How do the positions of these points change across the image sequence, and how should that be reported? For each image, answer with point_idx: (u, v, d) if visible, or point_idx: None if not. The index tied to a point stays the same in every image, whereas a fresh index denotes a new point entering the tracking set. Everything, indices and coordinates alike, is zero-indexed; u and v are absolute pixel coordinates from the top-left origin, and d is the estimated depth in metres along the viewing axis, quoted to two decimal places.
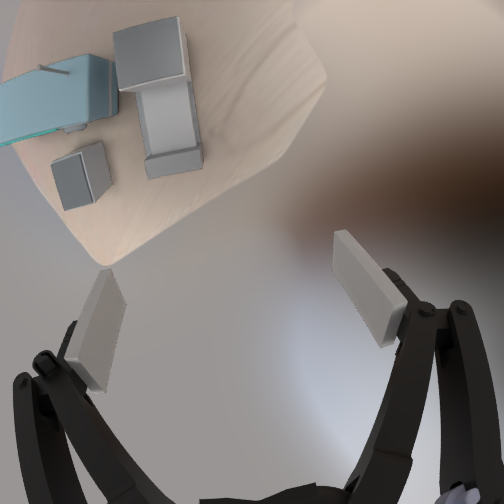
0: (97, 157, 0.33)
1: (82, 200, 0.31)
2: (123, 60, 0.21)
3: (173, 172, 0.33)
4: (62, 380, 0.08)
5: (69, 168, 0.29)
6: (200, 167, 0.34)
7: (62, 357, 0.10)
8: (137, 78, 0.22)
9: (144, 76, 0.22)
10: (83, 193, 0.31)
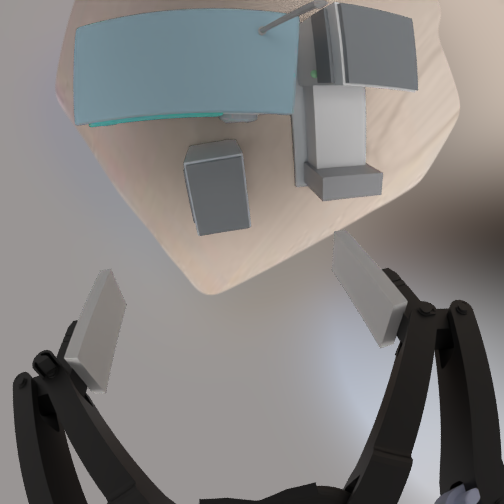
0: None
1: (234, 223, 0.26)
2: (356, 46, 0.15)
3: (352, 195, 0.28)
4: (62, 380, 0.08)
5: (221, 175, 0.23)
6: (379, 192, 0.28)
7: (62, 357, 0.10)
8: (372, 77, 0.16)
9: (380, 78, 0.16)
10: (238, 213, 0.25)
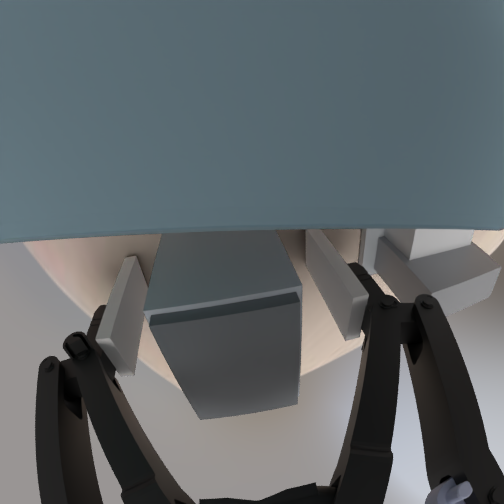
0: None
1: (269, 403, 0.11)
2: None
3: (459, 308, 0.14)
4: (92, 363, 0.09)
5: (244, 341, 0.09)
6: (489, 294, 0.14)
7: (91, 340, 0.11)
8: None
9: None
10: (278, 392, 0.11)
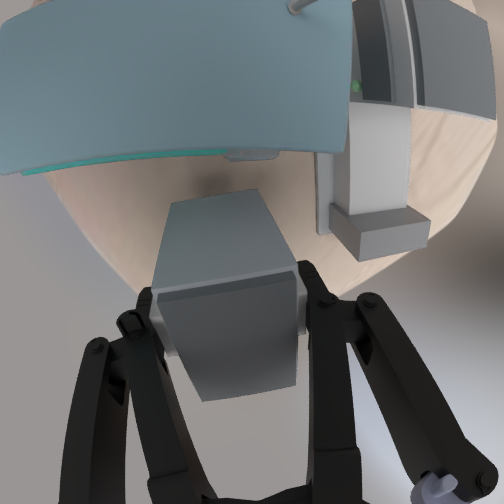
0: None
1: (268, 383, 0.12)
2: (433, 50, 0.08)
3: (394, 251, 0.21)
4: (145, 343, 0.10)
5: (245, 318, 0.10)
6: (425, 245, 0.21)
7: None
8: (452, 99, 0.10)
9: (460, 101, 0.10)
10: (277, 372, 0.12)
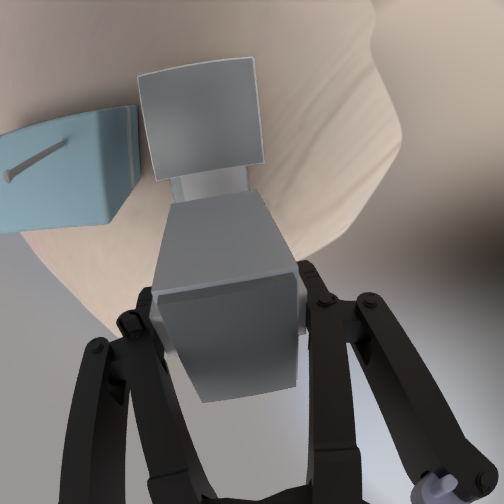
0: None
1: (269, 385, 0.12)
2: (161, 131, 0.15)
3: None
4: (145, 343, 0.10)
5: (245, 320, 0.10)
6: None
7: None
8: (187, 165, 0.16)
9: (199, 163, 0.16)
10: (278, 373, 0.12)
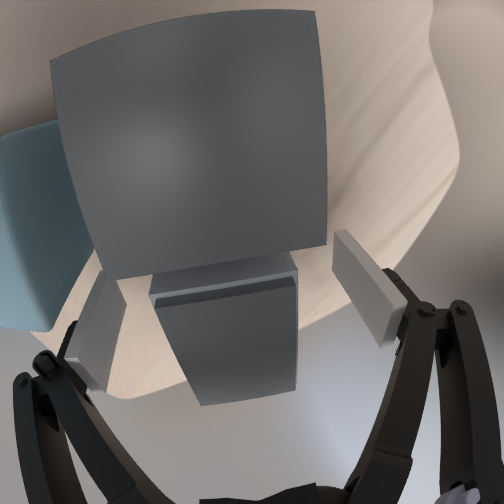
0: None
1: (268, 388, 0.12)
2: (101, 181, 0.06)
3: None
4: (62, 380, 0.08)
5: (244, 324, 0.10)
6: None
7: (62, 357, 0.10)
8: (166, 254, 0.08)
9: (191, 249, 0.08)
10: (277, 377, 0.12)
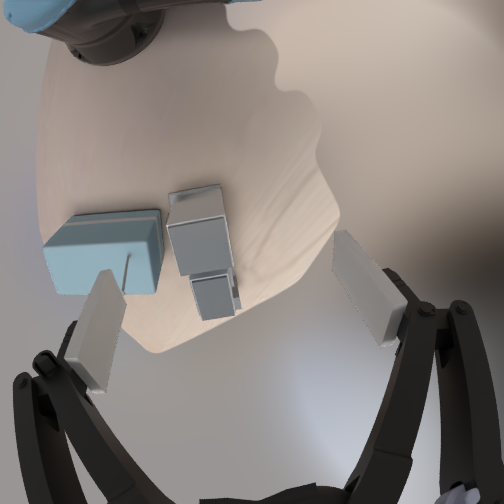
0: None
1: (224, 313, 0.39)
2: (181, 254, 0.33)
3: None
4: (62, 380, 0.08)
5: (214, 287, 0.37)
6: (240, 307, 0.46)
7: (62, 357, 0.10)
8: (195, 269, 0.35)
9: (201, 268, 0.35)
10: (226, 308, 0.38)
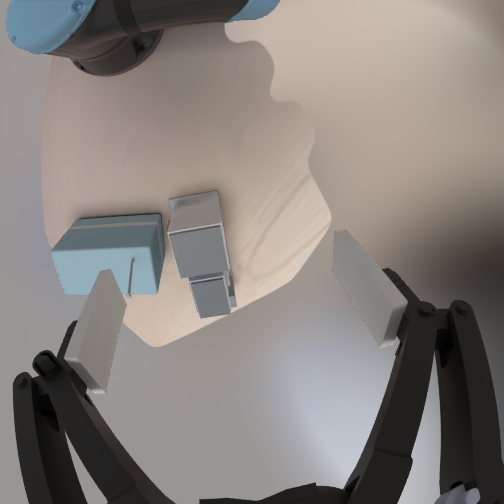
0: None
1: (221, 311, 0.42)
2: (181, 259, 0.36)
3: None
4: (62, 380, 0.08)
5: (211, 288, 0.40)
6: (235, 305, 0.49)
7: (62, 357, 0.10)
8: (194, 272, 0.38)
9: (199, 271, 0.38)
10: (223, 307, 0.42)
